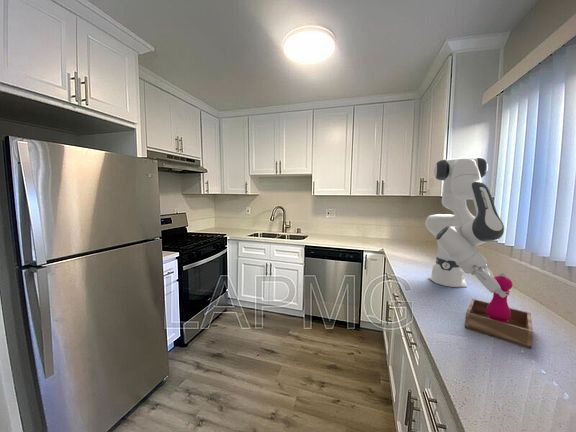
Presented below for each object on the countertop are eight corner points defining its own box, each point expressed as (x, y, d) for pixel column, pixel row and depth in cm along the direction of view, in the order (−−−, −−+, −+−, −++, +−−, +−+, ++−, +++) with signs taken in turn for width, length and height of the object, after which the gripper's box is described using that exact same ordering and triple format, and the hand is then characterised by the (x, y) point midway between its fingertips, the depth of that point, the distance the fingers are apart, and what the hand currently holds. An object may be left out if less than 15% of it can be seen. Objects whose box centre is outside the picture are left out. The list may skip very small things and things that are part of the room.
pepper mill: (484, 323, 94) (489, 272, 92) (485, 316, 99) (491, 268, 97) (509, 331, 89) (515, 277, 87) (509, 323, 94) (516, 272, 92)
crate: (470, 311, 107) (472, 298, 106) (528, 327, 95) (530, 312, 94) (464, 328, 93) (465, 312, 93) (531, 349, 81) (533, 331, 81)
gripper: (484, 264, 87) (518, 298, 82) (477, 253, 104) (505, 280, 99) (467, 274, 89) (499, 307, 85) (463, 261, 107) (490, 289, 102)
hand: (502, 293), depth 92 cm, fingers closed on pepper mill, 5 cm apart
